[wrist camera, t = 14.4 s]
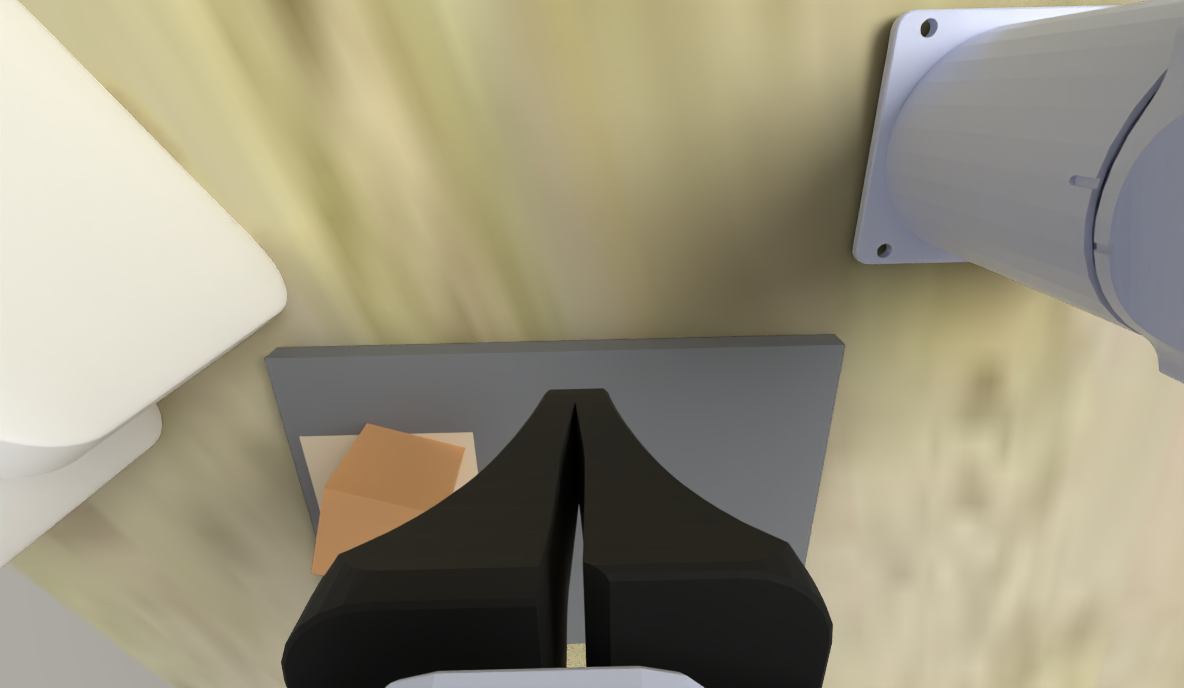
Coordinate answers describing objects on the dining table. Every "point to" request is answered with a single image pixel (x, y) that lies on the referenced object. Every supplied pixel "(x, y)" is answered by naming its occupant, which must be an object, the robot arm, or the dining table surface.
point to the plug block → (382, 489)
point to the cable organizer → (99, 282)
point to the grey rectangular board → (622, 367)
